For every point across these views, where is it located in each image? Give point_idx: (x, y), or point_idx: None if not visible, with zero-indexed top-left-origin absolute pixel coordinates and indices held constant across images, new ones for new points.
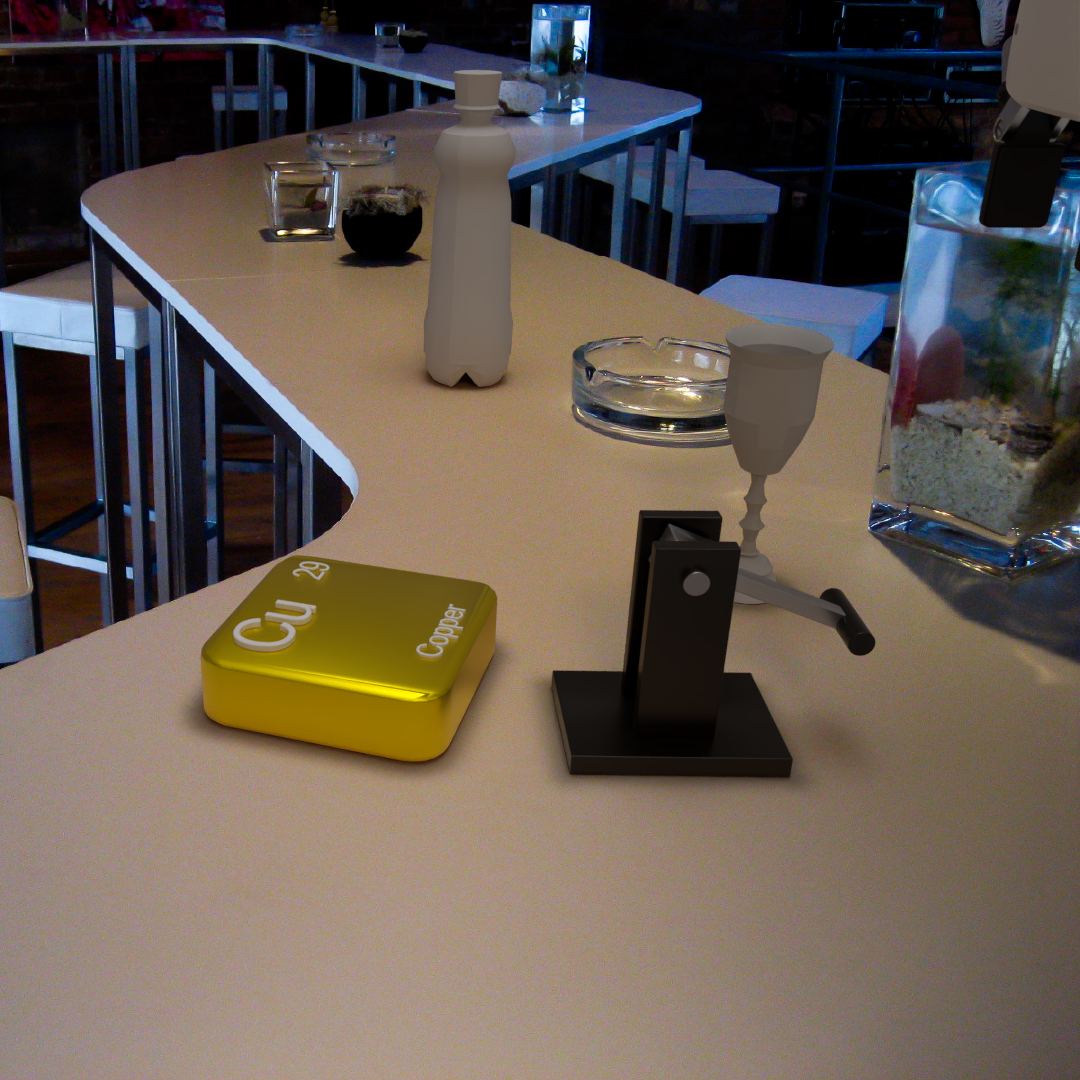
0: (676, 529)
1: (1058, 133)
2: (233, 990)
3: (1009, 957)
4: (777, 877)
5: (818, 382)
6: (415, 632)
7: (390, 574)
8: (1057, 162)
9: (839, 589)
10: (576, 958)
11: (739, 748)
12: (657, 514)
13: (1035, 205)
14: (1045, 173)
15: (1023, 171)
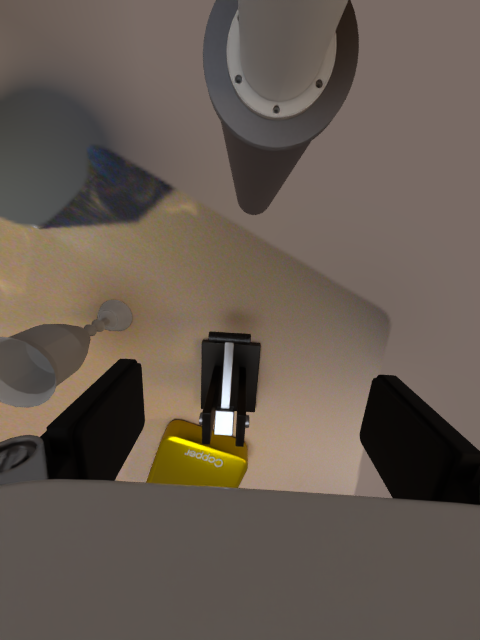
0: (218, 431)
1: (45, 456)
2: (332, 487)
3: (352, 310)
4: (309, 362)
5: (48, 339)
6: (204, 465)
7: (159, 469)
8: (95, 416)
9: (209, 336)
10: (333, 419)
11: (253, 361)
12: (207, 438)
13: (130, 392)
14: (108, 418)
15: (110, 450)
